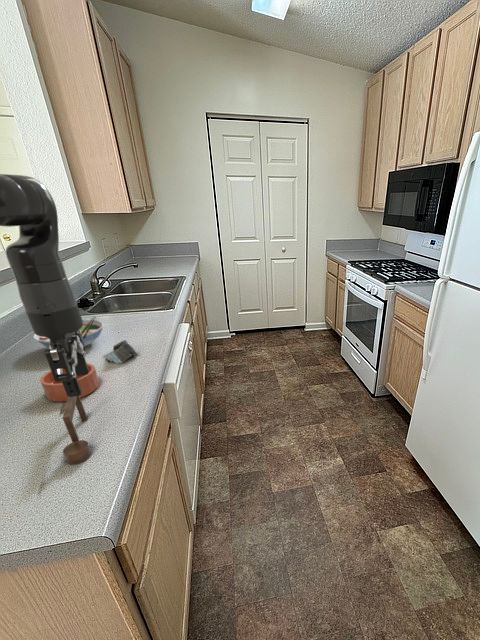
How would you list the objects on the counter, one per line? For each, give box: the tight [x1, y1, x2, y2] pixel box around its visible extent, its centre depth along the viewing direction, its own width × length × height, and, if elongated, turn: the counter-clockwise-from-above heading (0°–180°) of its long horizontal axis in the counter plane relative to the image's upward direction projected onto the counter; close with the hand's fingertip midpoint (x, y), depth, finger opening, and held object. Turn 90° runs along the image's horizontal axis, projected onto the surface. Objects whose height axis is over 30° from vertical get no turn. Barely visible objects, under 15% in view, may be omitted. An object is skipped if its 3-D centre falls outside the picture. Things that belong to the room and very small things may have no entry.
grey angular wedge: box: [105, 339, 138, 365], centre depth 119 cm, size 10×7×12 cm
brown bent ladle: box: [62, 396, 92, 466], centre depth 78 cm, size 18×5×10 cm, turn 26°
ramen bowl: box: [33, 316, 104, 349], centre depth 128 cm, size 25×23×8 cm
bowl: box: [39, 362, 100, 403], centre depth 99 cm, size 14×14×6 cm
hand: (79, 384), depth 65 cm, fingers open, 8 cm apart
